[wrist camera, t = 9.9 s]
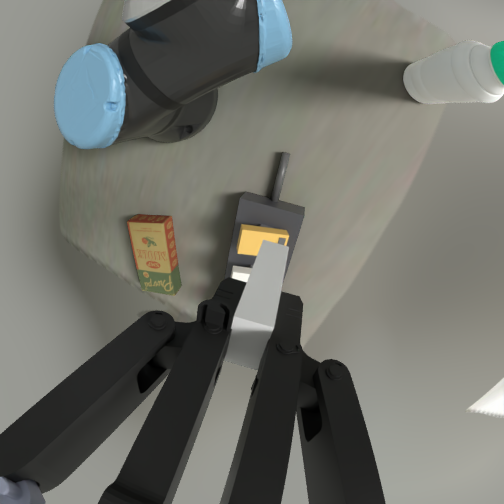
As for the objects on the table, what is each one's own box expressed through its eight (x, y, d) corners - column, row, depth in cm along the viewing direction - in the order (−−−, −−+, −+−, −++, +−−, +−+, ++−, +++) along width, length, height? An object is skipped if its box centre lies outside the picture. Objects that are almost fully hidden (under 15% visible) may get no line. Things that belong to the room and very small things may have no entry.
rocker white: (229, 285, 46) (229, 292, 45) (233, 265, 44) (233, 272, 43) (269, 289, 47) (270, 297, 46) (275, 270, 45) (276, 277, 44)
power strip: (222, 306, 57) (216, 320, 53) (255, 144, 41) (249, 147, 37) (268, 319, 56) (265, 335, 52) (317, 161, 40) (319, 165, 36)
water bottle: (446, 94, 29) (552, 94, 8) (417, 111, 32) (519, 117, 11) (423, 57, 28) (517, 21, 6) (393, 72, 31) (479, 35, 9)
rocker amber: (236, 247, 42) (237, 254, 41) (241, 224, 40) (242, 230, 39) (279, 252, 44) (282, 258, 42) (286, 230, 42) (289, 236, 40)
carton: (173, 214, 50) (162, 223, 46) (183, 286, 57) (175, 297, 53) (137, 213, 51) (125, 221, 47) (150, 281, 59) (140, 291, 55)
